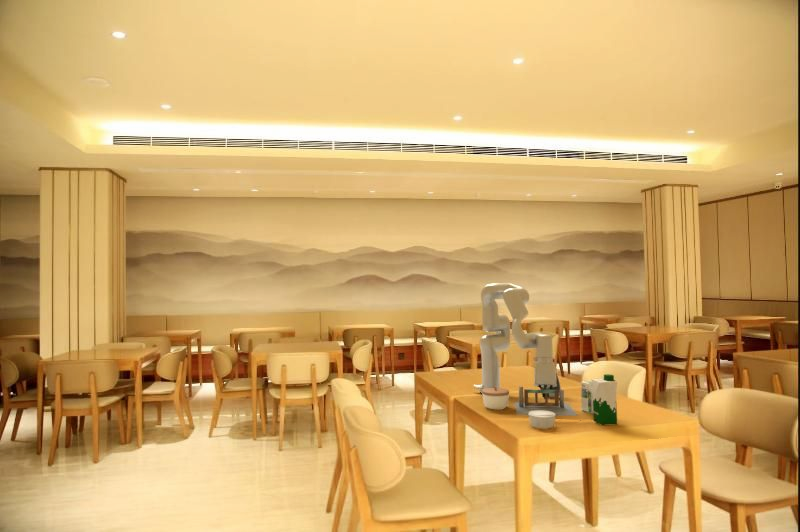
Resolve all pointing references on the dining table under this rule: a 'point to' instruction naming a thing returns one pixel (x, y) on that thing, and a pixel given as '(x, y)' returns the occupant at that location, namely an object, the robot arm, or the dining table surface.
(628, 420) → the dining table surface
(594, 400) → the milk carton
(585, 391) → the syrup box
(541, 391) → the gate leaf
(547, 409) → the gate base
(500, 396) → the lidded bowl
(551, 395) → the dark grey rounded block
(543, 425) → the ramekin
